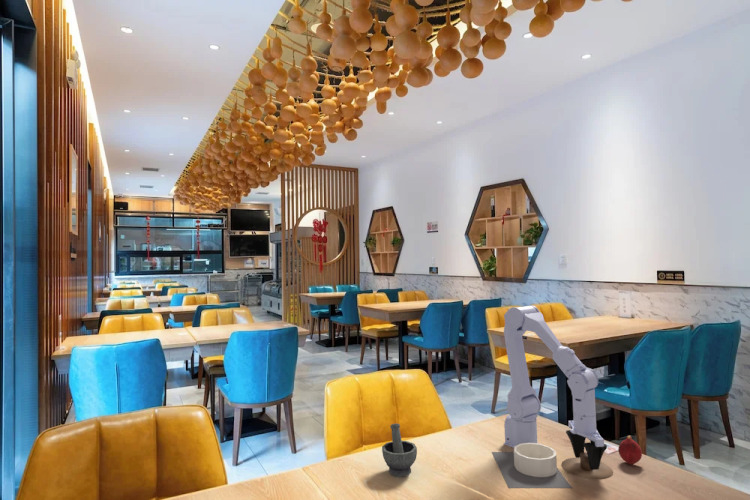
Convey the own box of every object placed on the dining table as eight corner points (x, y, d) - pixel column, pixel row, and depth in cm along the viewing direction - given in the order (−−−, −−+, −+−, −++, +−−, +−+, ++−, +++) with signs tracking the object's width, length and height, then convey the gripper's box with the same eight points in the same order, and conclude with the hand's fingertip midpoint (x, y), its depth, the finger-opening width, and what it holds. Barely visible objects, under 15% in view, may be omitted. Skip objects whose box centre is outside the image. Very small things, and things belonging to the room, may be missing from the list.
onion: (645, 470, 123) (644, 440, 123) (623, 468, 124) (621, 439, 125) (638, 461, 129) (636, 432, 129) (616, 459, 130) (615, 431, 130)
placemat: (508, 489, 115) (508, 487, 115) (491, 453, 137) (491, 451, 137) (572, 489, 114) (572, 487, 114) (544, 453, 136) (544, 451, 136)
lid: (552, 470, 125) (552, 454, 125) (575, 456, 134) (574, 441, 134) (600, 487, 115) (599, 470, 116) (621, 471, 124) (620, 455, 124)
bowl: (506, 467, 126) (506, 450, 126) (528, 456, 133) (528, 439, 133) (543, 481, 118) (542, 463, 118) (564, 468, 125) (563, 451, 125)
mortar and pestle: (420, 478, 122) (419, 433, 123) (387, 482, 121) (385, 436, 121) (410, 460, 134) (409, 419, 134) (379, 463, 132) (378, 422, 132)
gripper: (557, 406, 132) (559, 453, 132) (585, 423, 118) (587, 476, 117) (580, 404, 133) (582, 451, 132) (610, 421, 118) (613, 474, 118)
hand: (586, 462), depth 125 cm, fingers open, 7 cm apart
